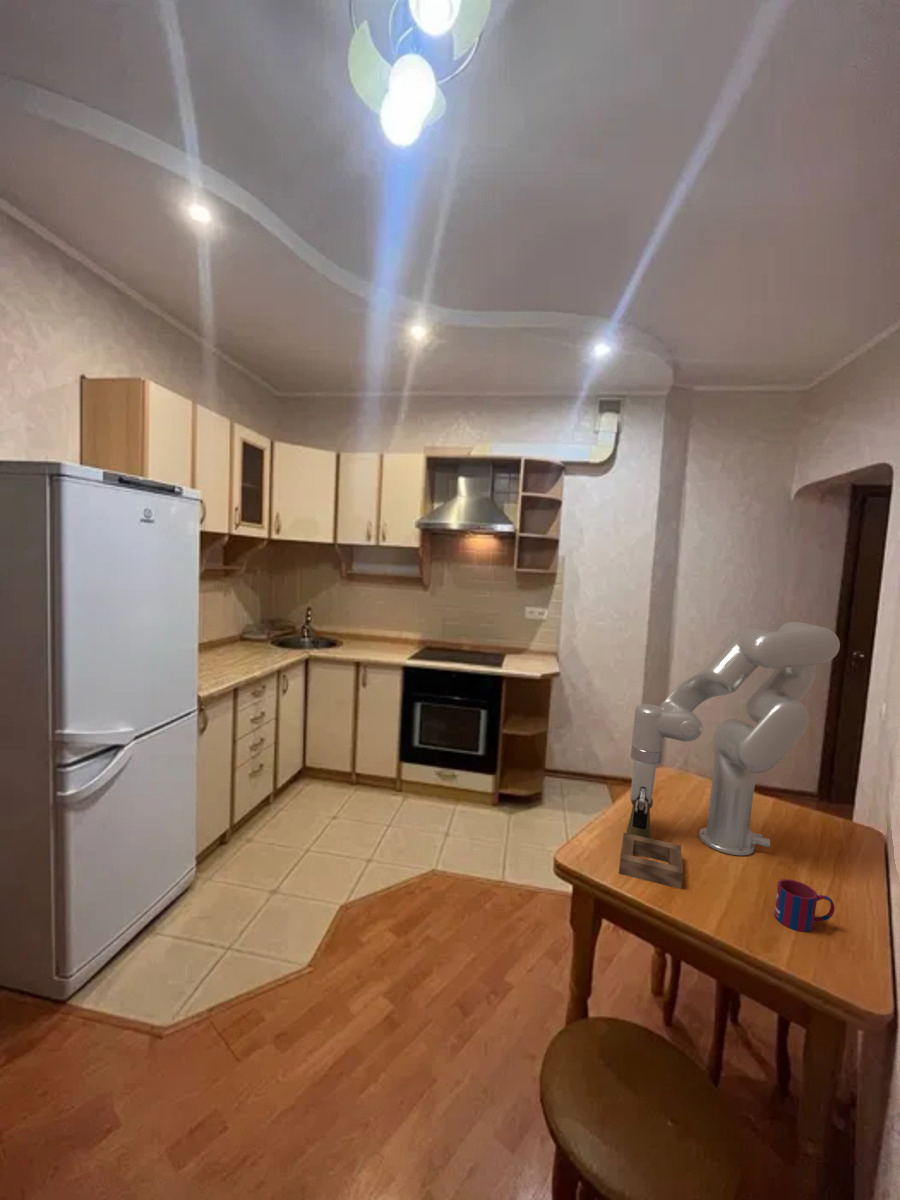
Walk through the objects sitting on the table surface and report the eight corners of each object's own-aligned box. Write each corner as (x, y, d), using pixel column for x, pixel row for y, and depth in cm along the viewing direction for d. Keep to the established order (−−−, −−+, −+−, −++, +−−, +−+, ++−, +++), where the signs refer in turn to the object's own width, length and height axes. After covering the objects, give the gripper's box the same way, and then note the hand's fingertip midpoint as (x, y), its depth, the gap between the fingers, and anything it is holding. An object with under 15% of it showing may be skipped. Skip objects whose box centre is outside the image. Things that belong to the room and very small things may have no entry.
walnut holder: (679, 859, 134) (680, 845, 133) (681, 888, 122) (682, 873, 121) (622, 846, 138) (623, 832, 138) (618, 873, 126) (620, 858, 126)
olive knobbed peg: (652, 843, 140) (656, 801, 140) (627, 839, 142) (631, 797, 141) (649, 832, 146) (653, 791, 145) (624, 828, 148) (628, 788, 147)
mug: (771, 906, 117) (775, 875, 117) (827, 921, 114) (832, 889, 113) (777, 925, 111) (781, 893, 111) (836, 941, 108) (841, 907, 107)
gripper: (632, 741, 152) (626, 802, 153) (629, 762, 135) (622, 830, 137) (662, 746, 149) (655, 809, 150) (662, 768, 133) (655, 838, 134)
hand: (639, 819), depth 144 cm, fingers open, 9 cm apart
